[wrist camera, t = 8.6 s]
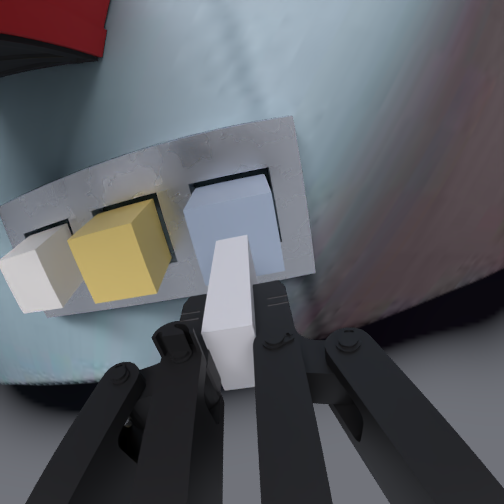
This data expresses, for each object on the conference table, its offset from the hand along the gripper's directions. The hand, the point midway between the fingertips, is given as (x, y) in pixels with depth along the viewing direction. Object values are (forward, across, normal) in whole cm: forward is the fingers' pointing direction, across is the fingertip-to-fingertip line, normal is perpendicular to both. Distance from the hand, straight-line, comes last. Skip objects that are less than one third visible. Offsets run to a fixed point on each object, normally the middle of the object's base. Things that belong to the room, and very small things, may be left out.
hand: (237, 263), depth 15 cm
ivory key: (+8, -16, 0) cm, 18 cm away
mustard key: (+8, -8, 0) cm, 11 cm away
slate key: (+8, 0, 0) cm, 8 cm away
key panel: (+9, -8, 0) cm, 12 cm away
